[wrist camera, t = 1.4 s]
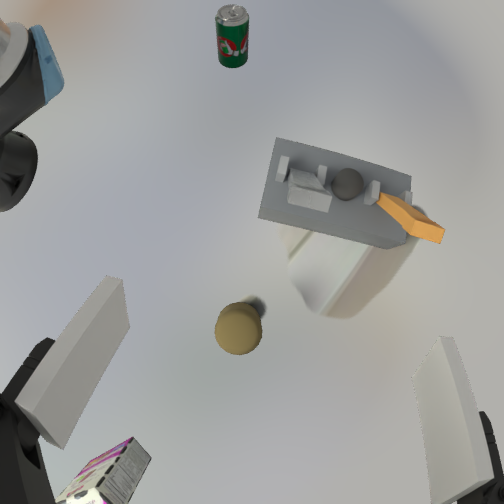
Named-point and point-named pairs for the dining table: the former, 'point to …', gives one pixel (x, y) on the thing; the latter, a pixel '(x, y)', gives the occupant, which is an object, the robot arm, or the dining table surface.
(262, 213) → the console
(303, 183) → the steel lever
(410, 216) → the orange lever
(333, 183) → the button
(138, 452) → the candy bar box
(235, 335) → the cork
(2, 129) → the robot arm
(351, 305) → the dining table surface
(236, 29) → the soda can
